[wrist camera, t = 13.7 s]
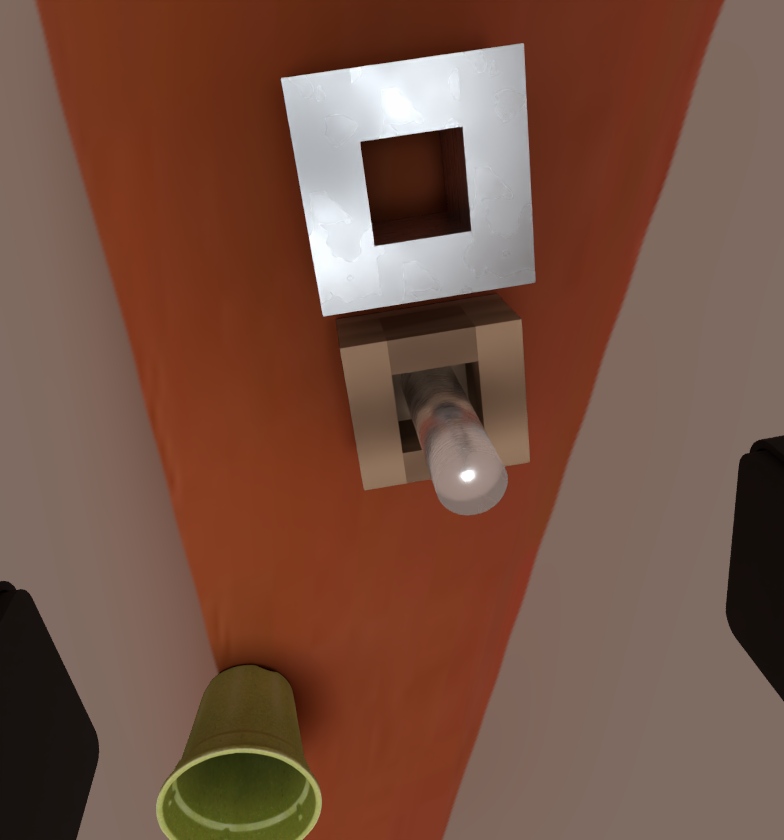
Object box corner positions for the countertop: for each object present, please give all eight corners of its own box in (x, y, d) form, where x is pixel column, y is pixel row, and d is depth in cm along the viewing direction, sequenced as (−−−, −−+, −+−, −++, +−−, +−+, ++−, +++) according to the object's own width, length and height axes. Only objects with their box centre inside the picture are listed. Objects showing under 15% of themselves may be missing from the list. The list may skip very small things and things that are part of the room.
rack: (335, 319, 40) (339, 348, 35) (496, 293, 40) (521, 319, 36) (357, 448, 43) (364, 490, 39) (506, 423, 44) (529, 461, 39)
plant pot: (287, 624, 48) (284, 728, 40) (337, 721, 52) (344, 833, 44) (155, 670, 48) (126, 783, 40) (215, 763, 52) (199, 882, 44)
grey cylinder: (397, 358, 40) (432, 457, 29) (450, 349, 40) (505, 445, 29) (403, 407, 41) (439, 520, 30) (455, 399, 41) (509, 508, 31)
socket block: (284, 80, 35) (280, 78, 29) (489, 51, 35) (523, 43, 30) (320, 285, 39) (323, 316, 33) (503, 256, 39) (535, 282, 34)
